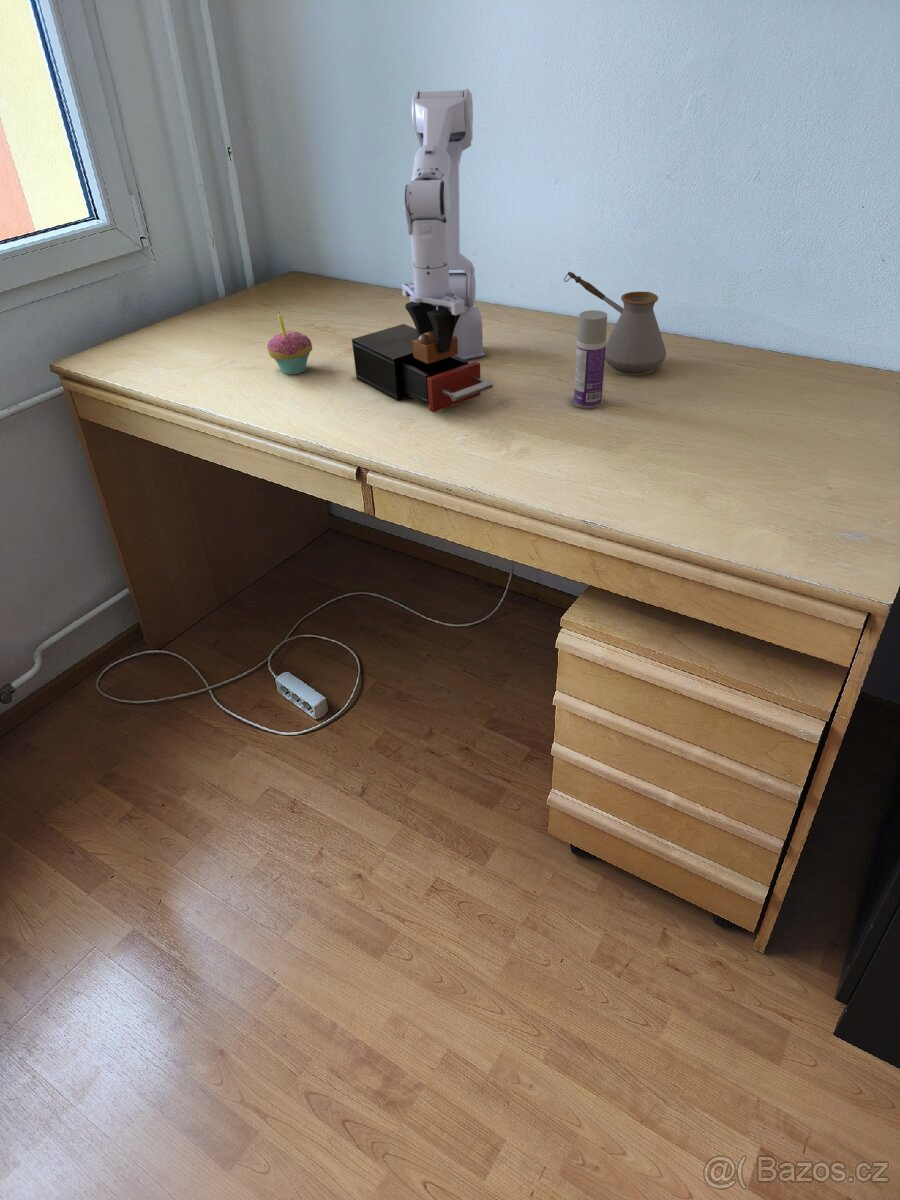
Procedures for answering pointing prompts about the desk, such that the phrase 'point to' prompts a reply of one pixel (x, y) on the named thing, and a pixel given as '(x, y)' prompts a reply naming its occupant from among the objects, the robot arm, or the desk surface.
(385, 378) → the black rectangular box
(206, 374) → the desk surface
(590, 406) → the container
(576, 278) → the coffee pot
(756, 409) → the desk surface
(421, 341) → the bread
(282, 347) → the cupcake
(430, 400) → the drawer
